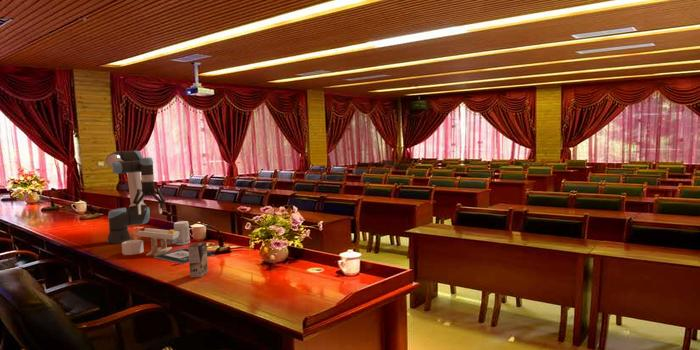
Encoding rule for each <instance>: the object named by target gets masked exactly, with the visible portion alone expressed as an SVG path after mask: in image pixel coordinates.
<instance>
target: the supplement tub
mask: <svg viewBox="0 0 700 350" xmlns="http://www.w3.org/2000/svg"><path fill="white" fill-rule="evenodd" d="M189 225H190V224H189V221H187V220H181V221H176V222H174V223H173V230H174V231H179V237H177V242H175V243H174V244H175V245H177V246H184V245H188V244H190V243H191V237H190V226H189Z"/></svg>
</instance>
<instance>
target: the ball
mask: <svg viewBox="0 0 700 350" xmlns="http://www.w3.org/2000/svg"><path fill="white" fill-rule="evenodd" d="M168 230H169V231H168V234H173V233H175V231H174V229H168Z"/></svg>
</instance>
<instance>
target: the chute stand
mask: <svg viewBox="0 0 700 350" xmlns="http://www.w3.org/2000/svg"><path fill="white" fill-rule="evenodd" d="M150 244H151V246H150V247H151V250H150V251H149V252H147V253H146V254H145V255H146V256H147V257H149V256H154V255H159V254H161V253H162V254H163V253H165V252H167V253H168V252H170V251H171V250H172V249H173V247H172V246H168V241H167V239H161V238H160V247H158V239H157V237H156V238H152V237H150Z"/></svg>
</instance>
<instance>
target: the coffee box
mask: <svg viewBox="0 0 700 350" xmlns="http://www.w3.org/2000/svg"><path fill="white" fill-rule="evenodd" d="M207 248H208V247H207V241H204V242H203V241H201V242H193V243H192V244H190V245H189V246H188V249H189V263H188V264H189V276H190V278H203V277H204V276H205V275H206V274H207V273H208V272H209V266H208V265H209V263H208V257H207V253H208V250H207Z"/></svg>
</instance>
